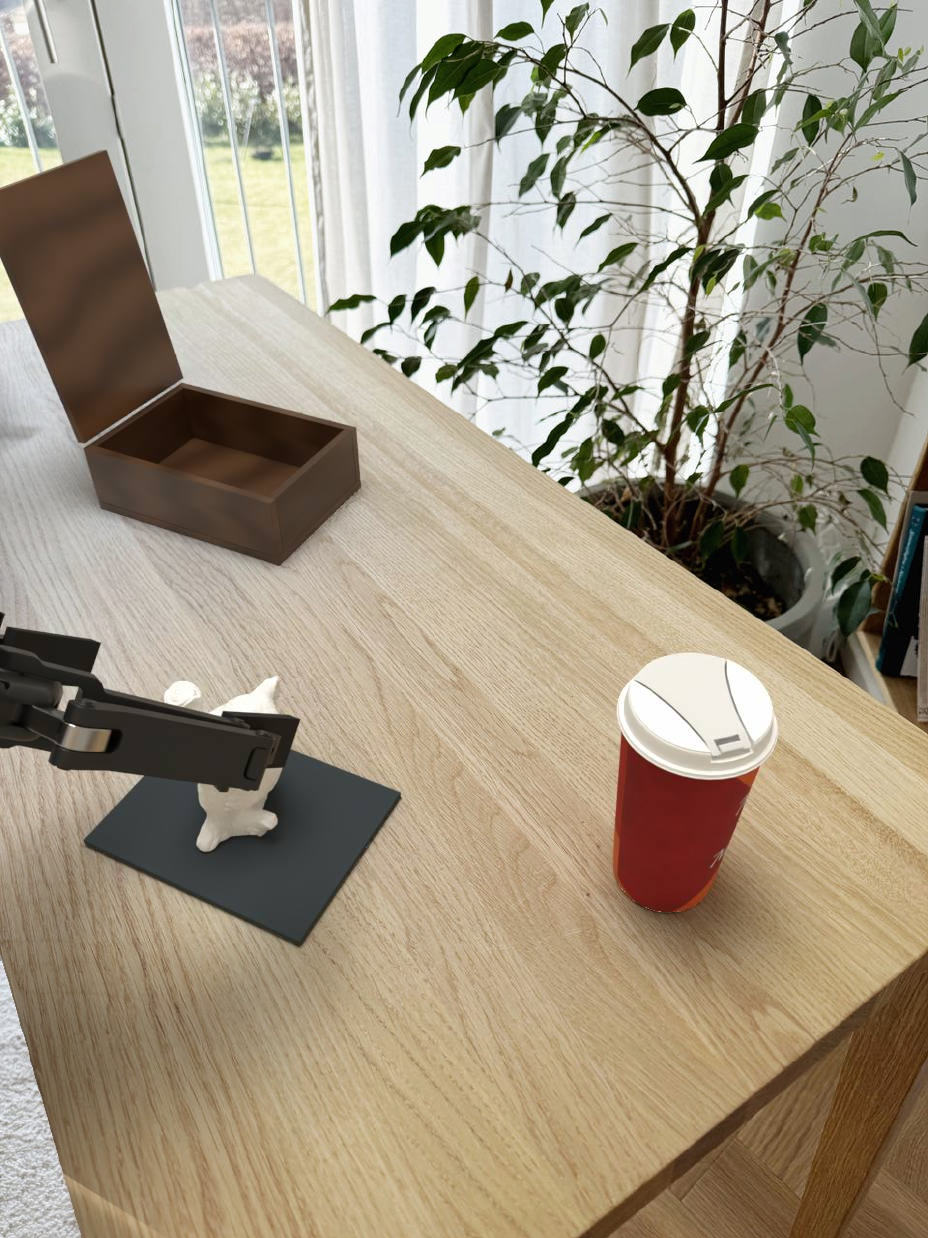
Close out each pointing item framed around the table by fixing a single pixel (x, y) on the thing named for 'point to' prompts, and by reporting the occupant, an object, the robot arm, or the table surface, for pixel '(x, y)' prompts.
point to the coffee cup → (685, 773)
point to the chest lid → (86, 292)
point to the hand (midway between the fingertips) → (184, 700)
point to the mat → (254, 843)
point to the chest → (226, 470)
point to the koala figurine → (236, 806)
